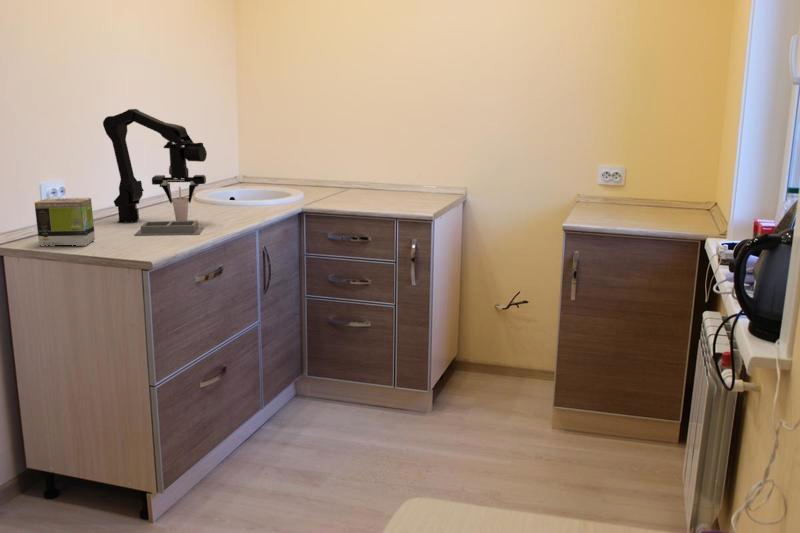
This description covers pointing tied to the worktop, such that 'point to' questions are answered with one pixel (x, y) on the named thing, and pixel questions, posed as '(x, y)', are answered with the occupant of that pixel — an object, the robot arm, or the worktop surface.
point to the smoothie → (180, 207)
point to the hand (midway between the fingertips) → (180, 203)
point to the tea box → (65, 221)
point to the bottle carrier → (169, 228)
